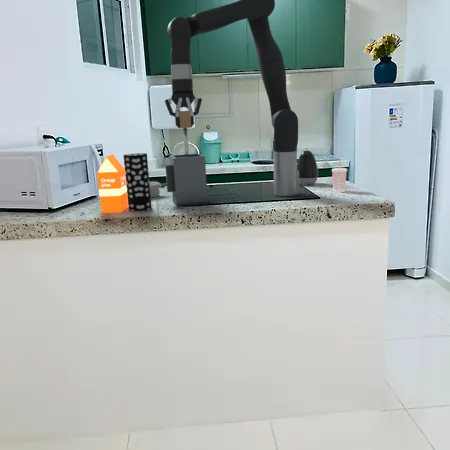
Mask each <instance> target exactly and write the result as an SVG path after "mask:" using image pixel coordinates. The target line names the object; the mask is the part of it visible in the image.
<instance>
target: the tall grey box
mask: <svg viewBox="0 0 450 450" xmlns="http://www.w3.org/2000/svg"><path fill="white" fill-rule="evenodd" d="M164 166H165V175H166V176H165V177H166V183H167V186H166V190H167V193H171V195H172V203H174V205H175V207H176V208H183V207H192V206H193V207H194V206H195V207H197V206H204V205H208V188H207V186H208V185H207V170H206V168H207V167H206V156H205V155H203V154H201V153H189V157H185V154H173V155H169V164H165V165H164Z"/></svg>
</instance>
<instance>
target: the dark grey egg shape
mask: <svg viewBox="0 0 450 450" xmlns="http://www.w3.org/2000/svg"><path fill="white" fill-rule="evenodd" d="M297 170H298V171H299V185H301V186H312V185H314V184H316V182H317V181H318V178H319V169H318V164H317V160H316V158H315V155H314V153H313V152H312V151H310V150H304V151H302V152H301V153H300V155H299V157H298V158H297Z"/></svg>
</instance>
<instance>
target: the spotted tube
mask: <svg viewBox="0 0 450 450" xmlns="http://www.w3.org/2000/svg"><path fill="white" fill-rule="evenodd" d="M122 156H123V165H124V166H123V168H124V170H125V180H126V189H127V200H128V207H127V208H128V211H130V212H145V211H149V210H151V209H152V200H151V199H152V198H151V195H150V183H149V182H150V174H149V162H148V161H149V160H148V153H145V152H142V153H141V152H140V153H135V152H134V153H127V154H123V155H122Z"/></svg>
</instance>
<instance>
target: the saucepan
mask: <svg viewBox="0 0 450 450" xmlns="http://www.w3.org/2000/svg"><path fill="white" fill-rule="evenodd" d="M149 183H150V195H151V199H153V198H152V197H154V198H157V197H158V196H159V195H160V194H161V193H160V189H165V188H167V182H165V183H160V182H158V181H149ZM156 196H157V197H156Z"/></svg>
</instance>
